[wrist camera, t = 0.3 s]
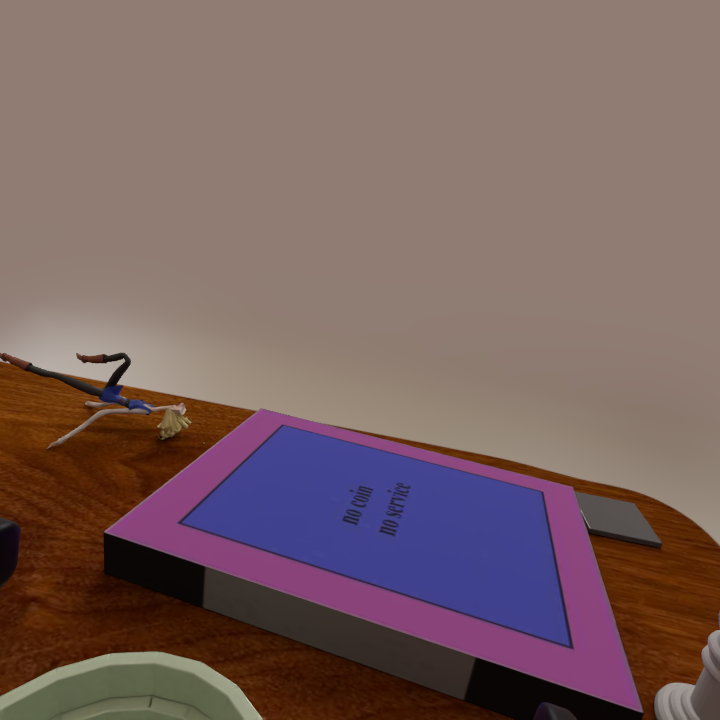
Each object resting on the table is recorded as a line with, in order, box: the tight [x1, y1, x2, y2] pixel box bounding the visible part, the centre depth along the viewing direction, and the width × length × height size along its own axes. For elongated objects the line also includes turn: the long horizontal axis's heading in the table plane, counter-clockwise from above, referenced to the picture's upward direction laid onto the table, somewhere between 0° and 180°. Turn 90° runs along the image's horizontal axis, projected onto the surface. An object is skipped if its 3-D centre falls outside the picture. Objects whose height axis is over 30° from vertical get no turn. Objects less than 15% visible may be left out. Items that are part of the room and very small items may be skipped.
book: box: [104, 409, 644, 720], centre depth 36 cm, size 21×3×30 cm
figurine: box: [0, 353, 192, 449], centre depth 44 cm, size 10×9×20 cm
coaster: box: [575, 492, 662, 548], centre depth 44 cm, size 6×6×1 cm
